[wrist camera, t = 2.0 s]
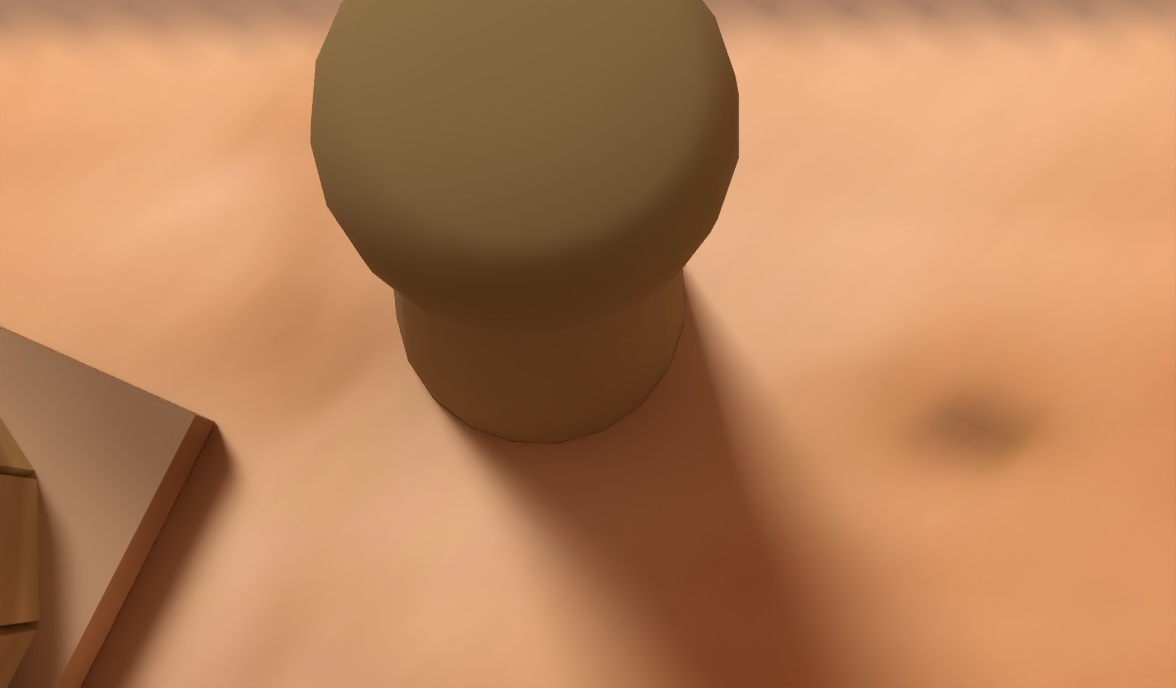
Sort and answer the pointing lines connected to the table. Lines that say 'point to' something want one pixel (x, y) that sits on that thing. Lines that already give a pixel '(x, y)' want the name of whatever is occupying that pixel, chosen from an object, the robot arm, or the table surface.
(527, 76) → the olive green peg
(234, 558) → the table surface
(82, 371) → the hub board
